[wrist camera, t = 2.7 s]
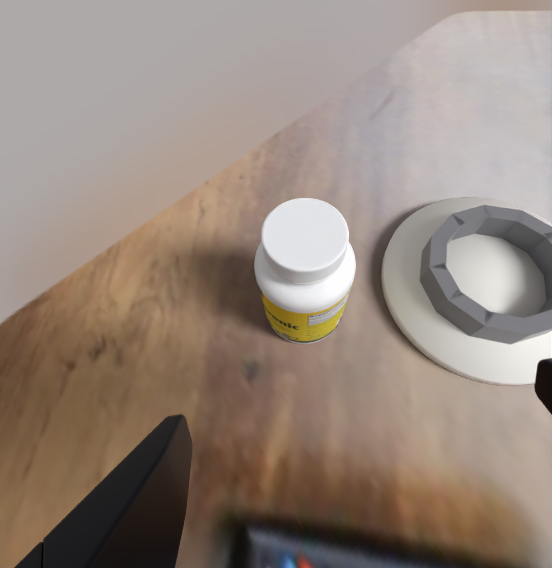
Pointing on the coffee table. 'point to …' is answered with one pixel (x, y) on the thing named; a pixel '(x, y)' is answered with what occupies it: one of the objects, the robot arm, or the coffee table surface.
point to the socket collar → (474, 287)
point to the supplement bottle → (304, 269)
